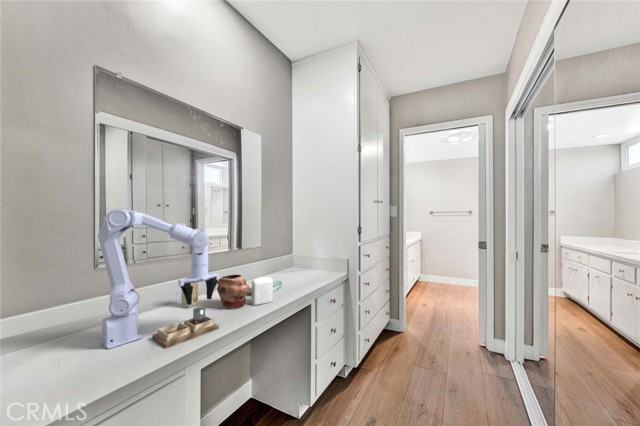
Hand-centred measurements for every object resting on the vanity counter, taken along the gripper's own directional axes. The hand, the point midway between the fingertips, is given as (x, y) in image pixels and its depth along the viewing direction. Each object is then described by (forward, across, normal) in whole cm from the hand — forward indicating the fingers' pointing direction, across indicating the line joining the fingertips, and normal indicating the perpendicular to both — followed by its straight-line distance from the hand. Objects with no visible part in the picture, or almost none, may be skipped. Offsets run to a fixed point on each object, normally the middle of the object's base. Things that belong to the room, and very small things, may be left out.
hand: (199, 301), depth 96 cm
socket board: (+10, -4, 0) cm, 11 cm away
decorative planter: (+10, +22, +13) cm, 28 cm away
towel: (+11, +46, +21) cm, 52 cm away
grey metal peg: (+9, 0, 0) cm, 9 cm away
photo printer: (+10, +34, +4) cm, 35 cm away
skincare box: (+10, +10, +28) cm, 32 cm away
